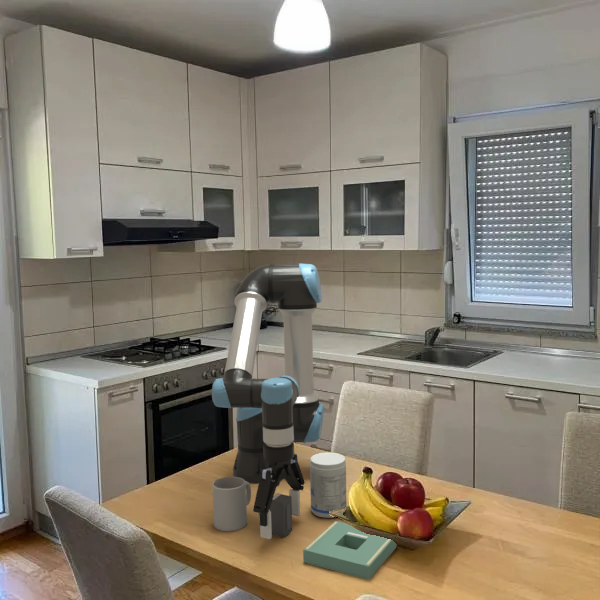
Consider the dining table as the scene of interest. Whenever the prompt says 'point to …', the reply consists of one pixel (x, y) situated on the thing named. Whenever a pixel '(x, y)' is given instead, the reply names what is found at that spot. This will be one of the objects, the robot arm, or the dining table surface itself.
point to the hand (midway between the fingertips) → (281, 525)
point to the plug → (281, 515)
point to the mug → (230, 503)
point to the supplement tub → (327, 483)
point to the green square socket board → (348, 551)
